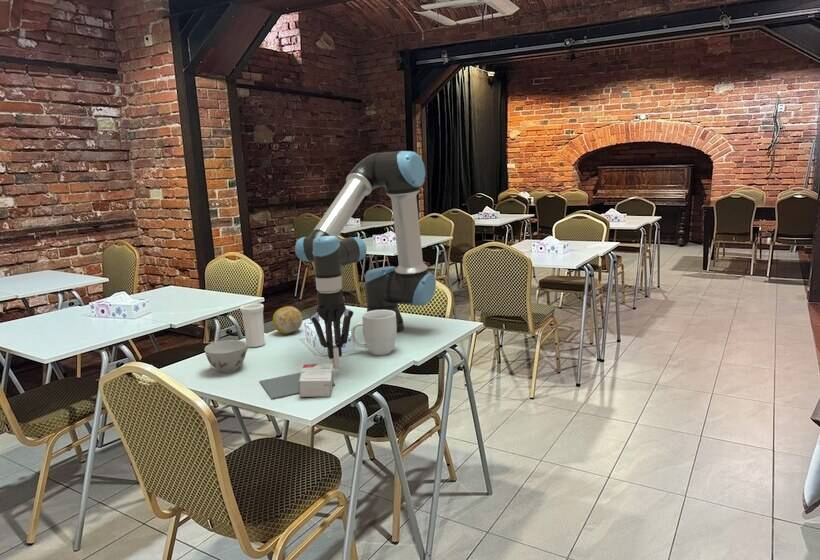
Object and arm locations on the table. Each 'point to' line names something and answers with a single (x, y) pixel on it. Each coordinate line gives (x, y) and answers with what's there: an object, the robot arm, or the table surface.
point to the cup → (253, 324)
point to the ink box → (316, 380)
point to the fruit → (287, 319)
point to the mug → (378, 331)
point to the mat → (282, 386)
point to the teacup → (226, 354)
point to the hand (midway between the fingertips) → (336, 367)
